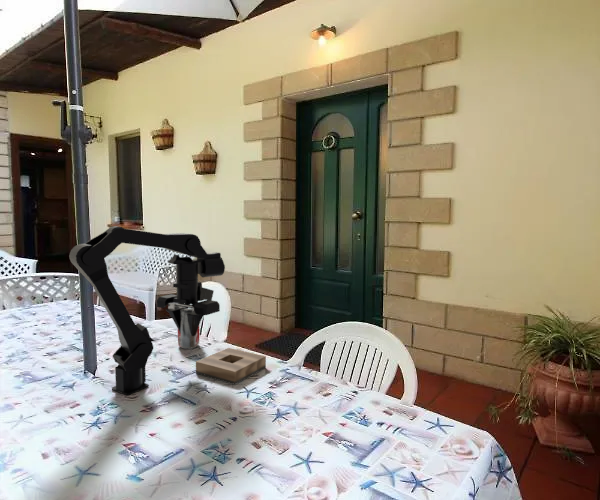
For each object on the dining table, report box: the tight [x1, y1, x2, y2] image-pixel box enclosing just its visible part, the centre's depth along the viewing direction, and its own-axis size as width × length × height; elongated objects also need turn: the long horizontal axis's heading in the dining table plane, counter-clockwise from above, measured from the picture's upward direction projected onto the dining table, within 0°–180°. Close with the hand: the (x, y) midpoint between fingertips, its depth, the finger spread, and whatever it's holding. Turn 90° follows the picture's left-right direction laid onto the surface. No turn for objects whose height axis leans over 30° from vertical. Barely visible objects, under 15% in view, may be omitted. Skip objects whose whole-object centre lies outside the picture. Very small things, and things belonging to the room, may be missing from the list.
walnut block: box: [195, 347, 267, 385], centre depth 118 cm, size 14×14×4 cm
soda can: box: [177, 326, 200, 350], centre depth 138 cm, size 7×7×12 cm
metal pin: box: [180, 308, 196, 349], centre depth 114 cm, size 4×4×10 cm
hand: (188, 334), depth 115 cm, fingers closed on metal pin, 4 cm apart
